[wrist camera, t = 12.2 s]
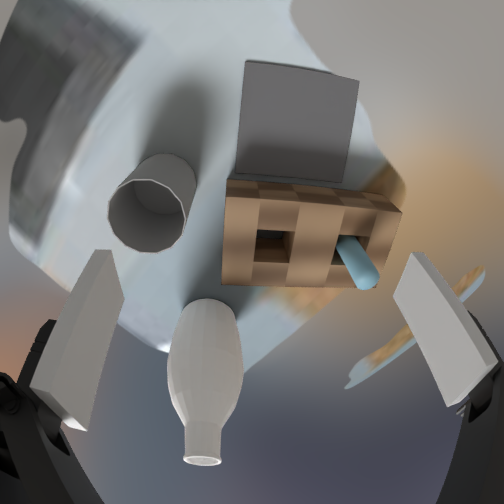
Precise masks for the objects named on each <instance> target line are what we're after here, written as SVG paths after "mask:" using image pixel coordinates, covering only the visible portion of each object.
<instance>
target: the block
mask: <svg viewBox="0 0 504 504" xmlns="http://www.w3.org/2000/svg"><path fill="white" fill-rule="evenodd" d="M401 216H402V212H401V211H400V210H399V209H398V208H396V207H395V206H394V205H393V204H392V203H391V202H390V201H389V200H388V199H387V198H386V197H384V196H383V195H380V194H373V193H366V192H358V191H351V190H343V189H335V188H326V187H317V186H308V185H297V184H287V183H275V182H262V181H248V180H232V179H227V183H226V199H225V216H224V234H223V254H222V281H221V285H244V286H276V287H329V288H357V286H356V284H355V283H354V281H353V279H352V277H351V275H350V273H349V271H348V269H347V267H346V265H345V264H344V262H343V260H342V258H341V256H340V254H339V252H338V251H337V249H336V243H337V239H338V235H339V234H341V235H354V236H355V237H356V239H357V240H358V242H359V243H360V245H361V246H362V248H363V249H364V251H365V252H366V254H367V255H368V257H369V258H370V260H371V261H372V263H373V264H374V266H375V267H376V269H377V270H378V272H379V275H381V273H382V270H383V268H384V265H385V262H386V260H387V257H388V254H389V251H390V249H391V246H392V243H393V240H394V237H395V235H396V232H397V229H398V225H399V223H400V219H401ZM257 229H262V230H279V231H283V237H282V239H273V238H256V234H257ZM379 278H380V277H379ZM377 283H378V282H377ZM377 283H376V285H377ZM376 285H375V286H373V287H372V288H376Z"/></svg>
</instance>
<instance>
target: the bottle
mask: <svg viewBox="0 0 504 504" xmlns="http://www.w3.org/2000/svg"><path fill="white" fill-rule="evenodd" d="M167 373H168V387H169V391H170V396H171V400H172V404H173V405H174V407H175V409H176V411H177V413H178V415H179V417H180V419H181V421H182V422H183V424H184V426H185V455H184V461H185V462H187V463H190V464H195V465H202V466H210V465H217V464H219V463H221V458H220V443H221V429H222V427H223V426H224V424H225V423H226V421H227V420H228V418H229V416H230V415H231V413H232V412H233V410H234V408H235V406H236V403H237V400H238V397H239V393H240V391H241V387H242V380H243V373H244V367H243V359H242V350H241V341H240V336H239V332H238V328H237V324H236V320H235V315H234V313H233V311H232V310H231V308H230V307H228V306H227V305H226V304H224V303H223V302H220V301H218V300H215V299H208V298H206V299H198V300H196V301H193V302H191V303H189V304H188V305H187V306H186V307H185V308H184V309H183V311H182V313H181V316H180V318H179V321H178V323H177V326H176V329H175V331H174V334H173V338H172V343H171V347H170V352H169V356H168V361H167Z"/></svg>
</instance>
